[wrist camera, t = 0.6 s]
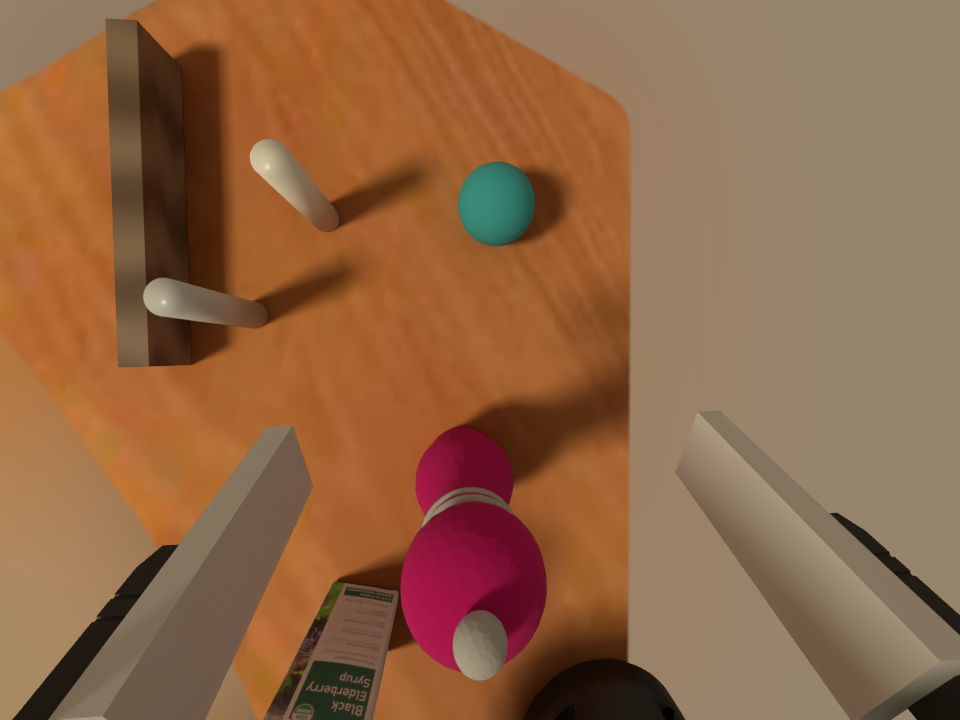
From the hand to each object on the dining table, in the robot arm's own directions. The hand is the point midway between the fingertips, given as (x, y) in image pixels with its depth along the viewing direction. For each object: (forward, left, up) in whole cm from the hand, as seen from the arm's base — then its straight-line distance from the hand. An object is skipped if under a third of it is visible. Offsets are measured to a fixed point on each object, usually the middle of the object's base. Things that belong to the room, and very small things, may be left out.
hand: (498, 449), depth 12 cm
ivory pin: (+15, +12, -19) cm, 27 cm away
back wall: (+15, +24, -19) cm, 34 cm away
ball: (+15, -2, -16) cm, 22 cm away
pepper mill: (-6, +1, -19) cm, 20 cm away
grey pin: (+7, +18, -19) cm, 27 cm away
